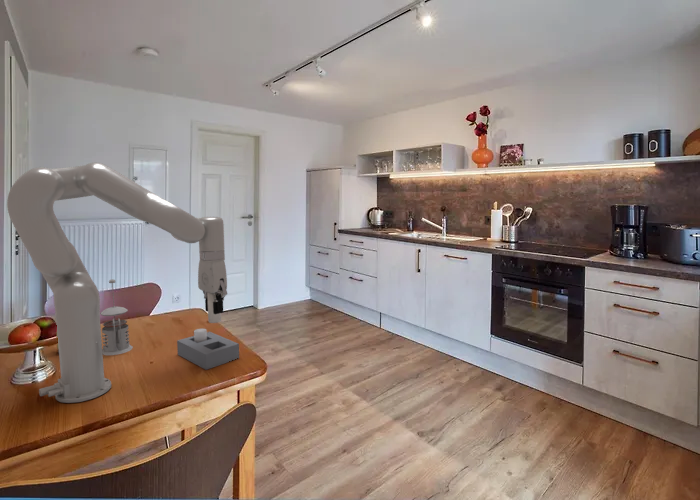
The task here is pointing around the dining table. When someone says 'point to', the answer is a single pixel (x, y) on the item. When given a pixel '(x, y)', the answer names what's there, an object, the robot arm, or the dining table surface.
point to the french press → (115, 331)
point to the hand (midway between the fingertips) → (214, 311)
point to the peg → (211, 316)
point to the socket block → (207, 349)
